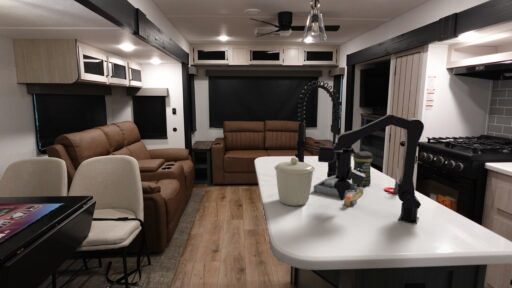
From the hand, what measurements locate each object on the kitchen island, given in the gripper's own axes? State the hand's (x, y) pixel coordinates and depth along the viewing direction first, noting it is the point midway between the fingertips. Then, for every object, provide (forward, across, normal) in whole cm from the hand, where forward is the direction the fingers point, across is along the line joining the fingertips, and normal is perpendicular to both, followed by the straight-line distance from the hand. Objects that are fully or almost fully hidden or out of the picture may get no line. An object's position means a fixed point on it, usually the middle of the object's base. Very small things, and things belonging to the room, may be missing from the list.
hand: (341, 199), depth 120 cm
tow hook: (+6, +36, -25) cm, 44 cm away
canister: (+6, +5, +21) cm, 23 cm away
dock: (+5, +22, +2) cm, 23 cm away
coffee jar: (+5, +43, -9) cm, 45 cm away
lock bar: (+5, +16, -6) cm, 18 cm away
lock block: (+5, +27, +4) cm, 28 cm away
